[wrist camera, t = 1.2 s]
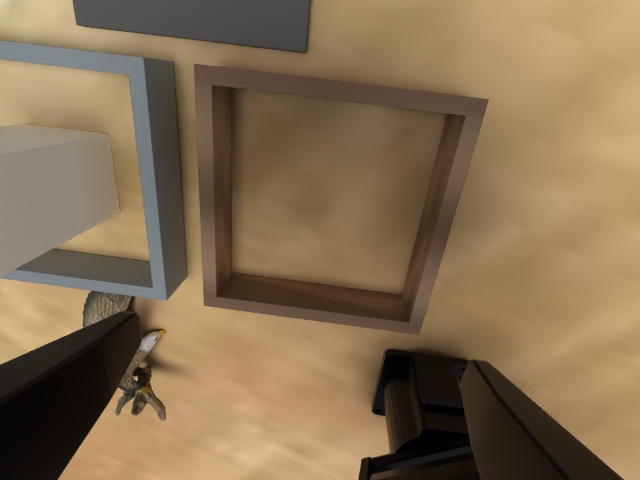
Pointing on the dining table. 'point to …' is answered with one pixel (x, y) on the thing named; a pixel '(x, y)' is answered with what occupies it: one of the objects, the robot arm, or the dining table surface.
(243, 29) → the dark grey flat slab
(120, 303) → the eagle figurine
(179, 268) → the frame
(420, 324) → the frame
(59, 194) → the letter block
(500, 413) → the robot arm
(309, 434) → the dining table surface
